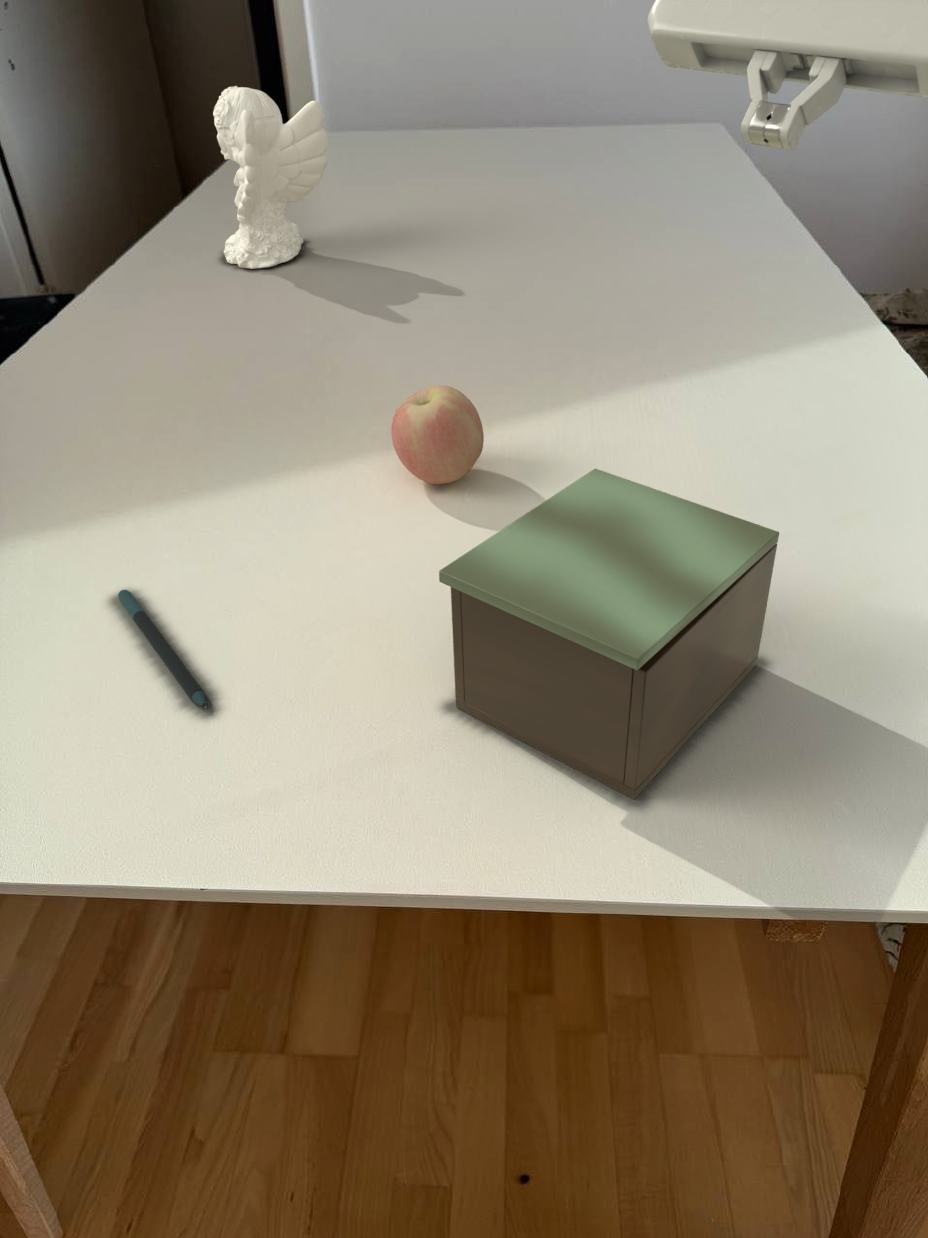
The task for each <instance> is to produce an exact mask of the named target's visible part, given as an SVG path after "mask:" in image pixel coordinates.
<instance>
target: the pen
mask: <svg viewBox="0 0 928 1238" xmlns="http://www.w3.org/2000/svg"><path fill="white" fill-rule="evenodd" d="M117 597H118V600H119V602H120V603H121V606H123V608H124V609H125V611H126V612H127V613H128V615H129V616H130V617H131V619H132V620H133V622H135V624H136V626H137V627H138V629H139V630H140V631H141V633H142V634H143V635H144V637H145V639H146V640H147V641H148V642H149V644H150V646H151V647H152V648H153V650H154V651H155V653H156V654H157V655H158V656H159V658H160V659H161V661H162V662H163V663H164V665H165V666H166V667H167V669H168V671H169V673H171V675H172V676H173V677H174V679H175V680H176V681H177V683H178V685H179V686H180V687H181V688H182V690H183V691H184V692H185V695H187V697H188V698H189V699H190V701H191V702H193V703H195V704H196V705H198V706H200V707H201V708H204V709H207V708H208V707H207V705H208V702H207V698H206V694H205V693H206V692H205V691H204V689H203V688H202V687H201V686H200V684H199V683H198V681H197V680H196V678H195V677H194V676H193V675H192V673H191V672H190V670H189V669H188V668H187V666H186V665H185V664H184V663H183V661H182V659H181V658H180V657H179V656H178V654H177V653H176V651H175V650H174V649H173V647H172V646H171V645H170V644H169V642H168V641H167V639H166V638H165V637H164V635H163V634H162V633H161V631H160V630H159V629H158V627H157V626H156V624H155V623H154V622H153V621H152V619H151V618H150V616H149V615H148V614H147V612H146V611H145V610H144V608H143V607H142V606H141V604H140V602H139V601H138V600H137V599H136V598H135V596H134V595H133V593H132V592H131V591H129V590H127V589H121V590H120V591H119V592H118V595H117Z"/></svg>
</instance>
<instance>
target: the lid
mask: <svg viewBox="0 0 928 1238" xmlns="http://www.w3.org/2000/svg"><path fill="white" fill-rule="evenodd" d="M779 537H780V531H777V530H774V529H771V528H769V527H766V526H763V525H760V524H757V523H756V522H755V523H754V522H751V521H748V520H746V519H742V518H740V517H737V516H734V515H732V514H728V513H725V512H723V511H720V510H717V509H714V508H711V507H708V506H705V505H702V504H699V503H697V502H695V501H694V502H693V501H691V500H688V499H686V498H685V499H684V498H682V497H679V496H676V495H673V494H670V493H667V492H665V491H662V490H660V489H656V488H653V487H651V486H648V485H644V484H641V483H639V482H637V481H634V480H630V479H627V478H624V477H621V476H619V475H616V474H612V473H610V472H607V471H604V470H601V469H598V468H593V469H592V470H590V471H588V472H587V473H586V474H584V475H582V476H581V477H579V478H578V479H577V480H575V481H574V482H572V483H570V484H569V485H568V486H566V487H564V488H563V489H561V490H560V491H559V492H556V493H555V494H554V495H552V496H551V497H549V498H547V499H546V500H545V501H542V503H540V504H539V505H537V506H535V507H533V509H531V510H530V511H528V512H526V513H525V514H524V515H522V516H520V517H518V518H517V519H516V520H514V521H513V522H511V523H509V524H508V525H506V526H505V527H503V528H501V530H499V531H498V532H496V533H494V534H493V535H491V536H489V537H488V538H487V539H485V540H484V541H483V542H481V543H479V544H478V545H476V546H474V547H473V548H472V549H470V550H469V551H467V552H466V553H464V554H463V555H461V556H460V557H458V558H456V559H455V560H453V561H452V562H450V563H449V564H447V565H446V566H444V567H442V568H441V569H440V570H439V571H438V581H439V583H442V584H444V585H446V586H448V587H450V588H451V587H452V588H454V589H457V590H459V591H461V592H463V593H466V594H468V595H470V596H472V597H475V598H477V599H479V600H481V601H483V602H486V603H488V604H490V605H492V606H495V607H497V608H499V609H501V610H504V611H506V612H508V613H510V614H513V615H515V616H517V617H519V618H521V619H524V620H526V621H528V622H530V623H533V624H535V625H537V626H539V627H542V628H544V629H546V630H548V631H550V632H553V633H555V634H557V635H559V636H562V637H564V638H566V639H568V640H571V641H573V642H575V643H577V644H579V645H582V646H584V647H586V648H588V649H591V650H593V651H595V652H597V653H600V654H602V655H604V656H606V657H609V658H611V659H613V660H615V661H617V662H620V663H622V664H624V665H626V666H629V667H631V668H633V669H635V670H638V669H639V668H640V667H642V666H643V665H644V664H645V663H646V662H647V661H648V660H649V659H650V658H651V657H653V656H654V655H655V654H656V653H657V652H658V651H659V650H660V649H661V648H662V647H664V646H665V645H666V644H667V643H668V642H669V641H670V640H671V639H672V638H673V637H675V636H676V635H677V634H678V633H679V632H680V631H681V630H682V629H683V628H684V627H685V626H687V625H688V624H689V623H690V622H691V621H692V620H693V619H694V618H695V617H696V616H698V615H699V614H700V613H701V612H702V611H703V610H704V609H705V608H706V607H707V606H709V605H710V604H711V603H712V602H713V601H714V600H715V599H716V598H717V597H718V596H719V595H721V594H722V593H723V592H724V591H725V590H726V589H727V588H728V587H729V586H730V585H732V584H733V583H734V582H735V581H736V580H737V579H738V578H739V577H740V576H741V575H743V574H744V573H745V572H746V571H747V570H748V569H749V568H750V567H751V566H752V565H754V564H755V563H756V562H757V561H758V560H759V559H760V558H761V557H762V556H763V555H764V554H766V553H767V552H768V551H769V550H770V549H771V548H772V547H773V546H774V545H775V544H777V545H778V542H779Z"/></svg>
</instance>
